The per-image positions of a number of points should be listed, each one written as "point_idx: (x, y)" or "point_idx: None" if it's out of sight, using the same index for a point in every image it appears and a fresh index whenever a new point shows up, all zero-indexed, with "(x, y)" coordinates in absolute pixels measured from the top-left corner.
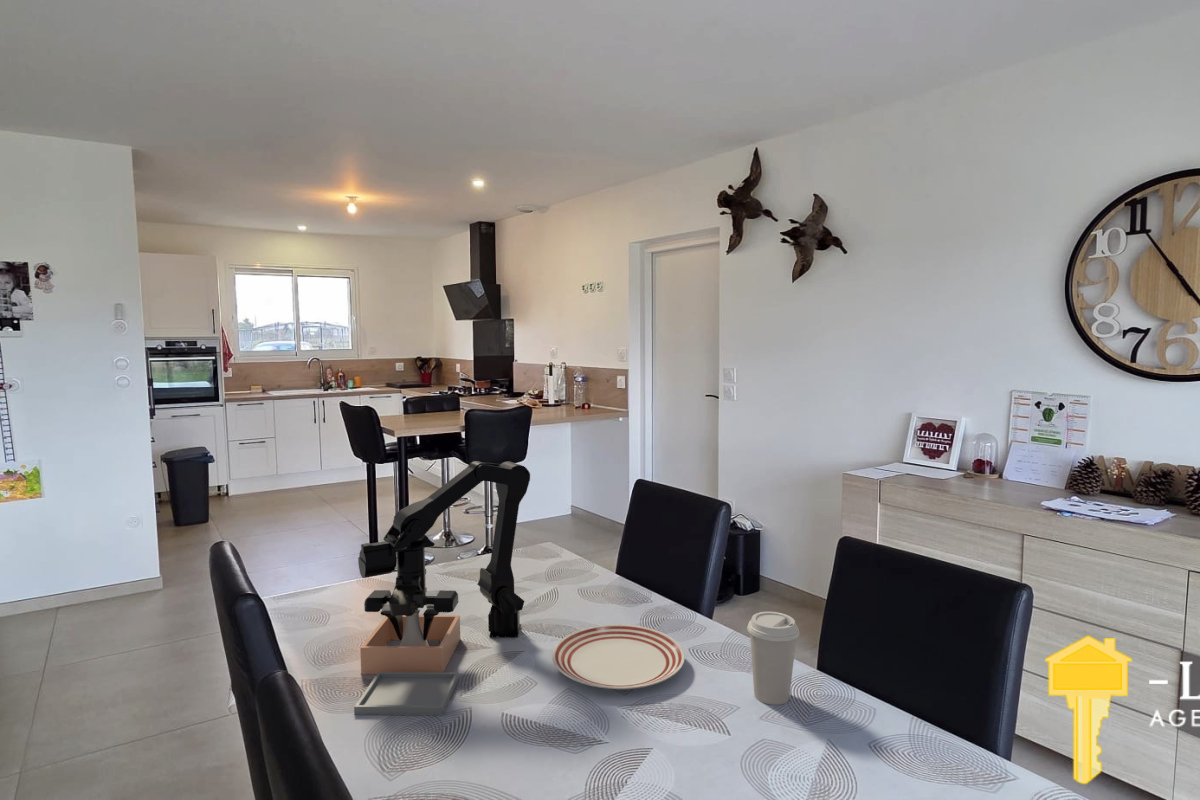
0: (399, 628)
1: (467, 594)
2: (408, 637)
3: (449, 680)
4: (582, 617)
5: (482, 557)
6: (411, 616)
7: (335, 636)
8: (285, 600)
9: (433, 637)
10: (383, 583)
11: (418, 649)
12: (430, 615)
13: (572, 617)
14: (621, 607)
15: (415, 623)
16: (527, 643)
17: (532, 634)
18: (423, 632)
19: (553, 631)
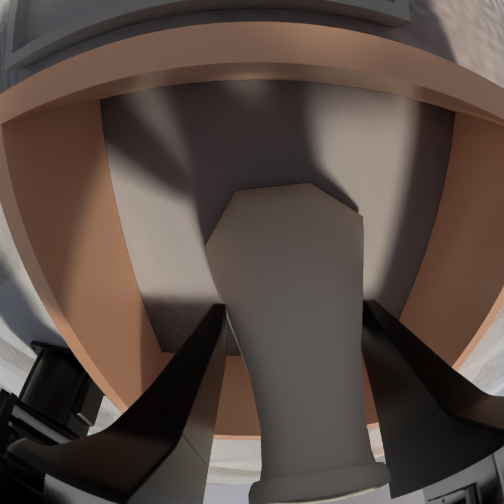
0: (397, 354)
1: (236, 457)
2: (321, 295)
3: (37, 31)
4: (14, 377)
5: (251, 483)
6: (320, 462)
7: (488, 335)
8: (494, 393)
9: (239, 364)
10: (377, 452)
11: (138, 38)
12: (58, 457)
13: (23, 382)
14: (4, 385)
15: (278, 403)
16: (2, 314)
17: (23, 347)
18: (215, 340)
19: (7, 349)
